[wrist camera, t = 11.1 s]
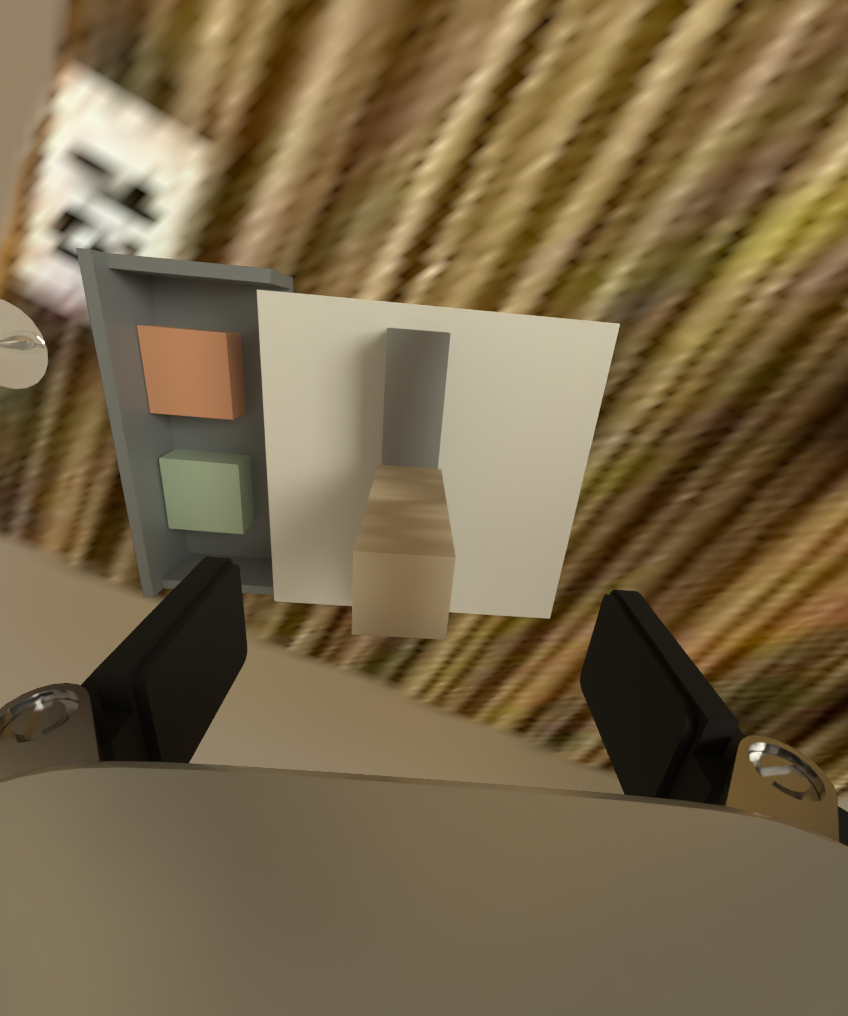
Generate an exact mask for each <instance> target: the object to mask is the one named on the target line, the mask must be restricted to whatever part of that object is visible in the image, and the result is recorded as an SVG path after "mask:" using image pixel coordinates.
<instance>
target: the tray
mask: <svg viewBox="0 0 848 1016" xmlns="http://www.w3.org/2000/svg"><path fill="white" fill-rule="evenodd" d="M76 249H77V254H78V259H79V265H80V270H81V275H82V280H83V285H84V291H85V296H86V301H87V306H88V311H89V316H90V322H91V327H92V332H93V337H94V342H95V347H96V353H97V358H98V363H99V368H100V373H101V378H102V384H103V389H104V394H105V399H106V404H107V409H108V415H109V420H110V425H111V430H112V435H113V441H114V446H115V451H116V456H117V461H118V466H119V472H120V477H121V482H122V487H123V492H124V497H125V503H126V508H127V513H128V518H129V523H130V528H131V534H132V539H133V544H134V549H135V554H136V559H137V565H138V570H139V575H140V580H141V585H142V591H143V596H144V597H153V598H154V597H155V596H156V595H157V594H158V593H159V592H160V591H161V590H162V589H163V588H168V589H174V588H175V587H176V586H177V585H178V584H179V583H180V582H181V581H182V580H183V579H184V578H185V577H186V576H187V575H188V574H189V573H190V572H191V571H192V570H193V569H194V568H195V567H196V566H197V565H198V564H199V563H200V562H201V561H202V559H203V558H205V557H207V556H211V557H223V558H230V559H232V561H233V564H237V565H239V568H240V576H241V586H242V593H247V594H262V595H274V587H273V569H272V552H271V534H270V516H269V499H268V481H267V463H266V446H265V428H264V410H263V393H262V375H261V357H260V340H259V322H258V304H257V290H267V291H278V292H289V293H293V278H292V277H290V276H287V275H285V274H282V273H279V272H277V271H274V270H272V269H266V268H256V267H246V266H235V265H225V264H215V263H204V262H194V261H184V260H173V259H163V258H152V257H142V256H132V255H121V254H111V253H104V252H99V251H95V250H91V249H81V248H76ZM137 325H164V326H175V327H185V328H196V329H207V330H218V331H229V332H240V333H241V346H242V361H243V375H244V389H245V403H246V414H244V415H242V416H240V417H238V418H236V419H234V420H229V419H217V418H204V417H192V416H180V415H168V414H156V413H150V408H149V401H148V395H147V389H146V382H145V376H144V369H143V363H142V356H141V350H140V343H139V337H138V330H137ZM175 449H184V450H195V451H207V452H218V453H230V454H241V455H251V471H252V488H253V505H254V522H253V523H252V525H251V526H250V527H249V528H248V529H247V530H246V532H245V533H244V534H233V533H220V532H208V531H195V530H182V529H170V528H169V526H168V519H167V512H166V505H165V498H164V491H163V484H162V477H161V470H160V463H159V458H160V457H162V456H163V455H165V454H167V453H169V452H171V451H173V450H175Z"/></svg>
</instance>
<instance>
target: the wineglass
mask: <svg viewBox="0 0 848 1016" xmlns="http://www.w3.org/2000/svg"><path fill="white" fill-rule="evenodd" d="M47 364H48V354H47V347H46V344H45V342H44V339H43V337H42V334H41V333H40V331H39V330H38V328H37V327H36V325H35V324H34V323H33V321H32V320H31V319H30V318H29V317H28V316H27V315H26V314H25V313H23V312H22V311H21V310H20V309H19V308H17V307H15V306H14V305H12V304H10V303H8V302H6V301H5V300H1V299H0V386H3V387H7V388H12V389H21V388H28V387H30V386H32V385H34V384H36V383H38V382H39V381H40V379H41V378H42V377H43V376H44V374H45V372H46V368H47Z"/></svg>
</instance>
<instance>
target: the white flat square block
mask: <svg viewBox="0 0 848 1016" xmlns="http://www.w3.org/2000/svg"><path fill="white" fill-rule="evenodd" d="M257 304H258V322H259V340H260V357H261V375H262V393H263V410H264V428H265V446H266V463H267V481H268V499H269V516H270V534H271V552H272V569H273V587H274V601H278V602H294V603H310V604H326V605H342V606H352V586H353V550H354V546H355V543H356V539H357V536H358V532H359V529H360V525H361V522H362V518H363V515H364V512H365V508H366V505H367V501H368V498H369V494H370V491H371V487H372V484H373V480H374V477H375V473H376V470H377V466H378V465H381V464H382V439H383V415H384V391H385V367H386V342H387V328H401V329H413V330H425V331H437V332H448V333H451V334H450V344H449V355H448V366H447V377H446V387H445V398H444V409H443V419H442V430H441V441H440V451H439V462H438V469H441V471H442V477H443V483H444V489H445V495H446V501H447V507H448V513H449V520H450V526H451V532H452V538H453V544H454V550H455V556H456V559H455V568H454V576H453V584H452V593H451V601H450V609H449V612H453V613H469V614H485V615H501V616H517V617H533V618H548V619H550V616H551V612H552V608H553V603H554V599H555V595H556V591H557V587H558V582H559V578H560V574H561V570H562V566H563V561H564V557H565V553H566V549H567V545H568V540H569V536H570V532H571V528H572V524H573V519H574V515H575V511H576V507H577V503H578V498H579V494H580V490H581V486H582V482H583V477H584V473H585V469H586V465H587V461H588V456H589V452H590V448H591V444H592V440H593V435H594V431H595V427H596V423H597V419H598V414H599V410H600V406H601V402H602V398H603V394H604V389H605V385H606V381H607V377H608V373H609V368H610V364H611V360H612V356H613V352H614V347H615V343H616V339H617V335H618V331H619V326H620V324H617V323H606V322H596V321H585V320H575V319H564V318H553V317H543V316H532V315H522V314H511V313H500V312H490V311H479V310H469V309H458V308H447V307H437V306H426V305H416V304H405V303H394V302H384V301H373V300H363V299H352V298H341V297H331V296H320V295H310V294H299V293H289V292H278V291H267V290H257Z"/></svg>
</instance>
